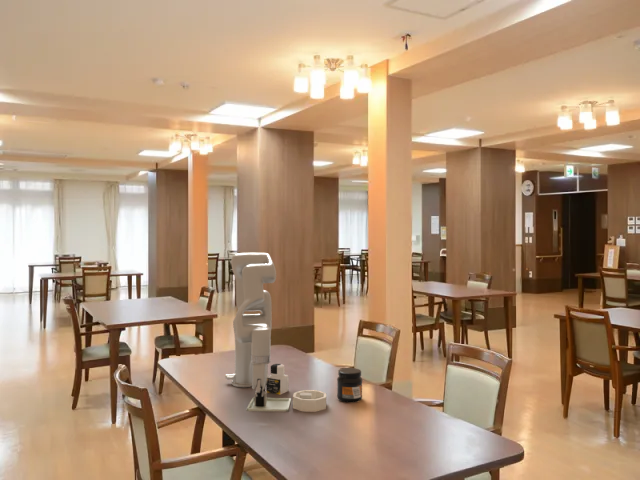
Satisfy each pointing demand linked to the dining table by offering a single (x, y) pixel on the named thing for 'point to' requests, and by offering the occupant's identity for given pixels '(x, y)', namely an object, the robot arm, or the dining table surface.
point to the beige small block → (264, 398)
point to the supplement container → (349, 385)
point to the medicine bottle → (277, 380)
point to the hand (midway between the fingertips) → (260, 404)
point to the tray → (271, 405)
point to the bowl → (310, 401)
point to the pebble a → (305, 395)
